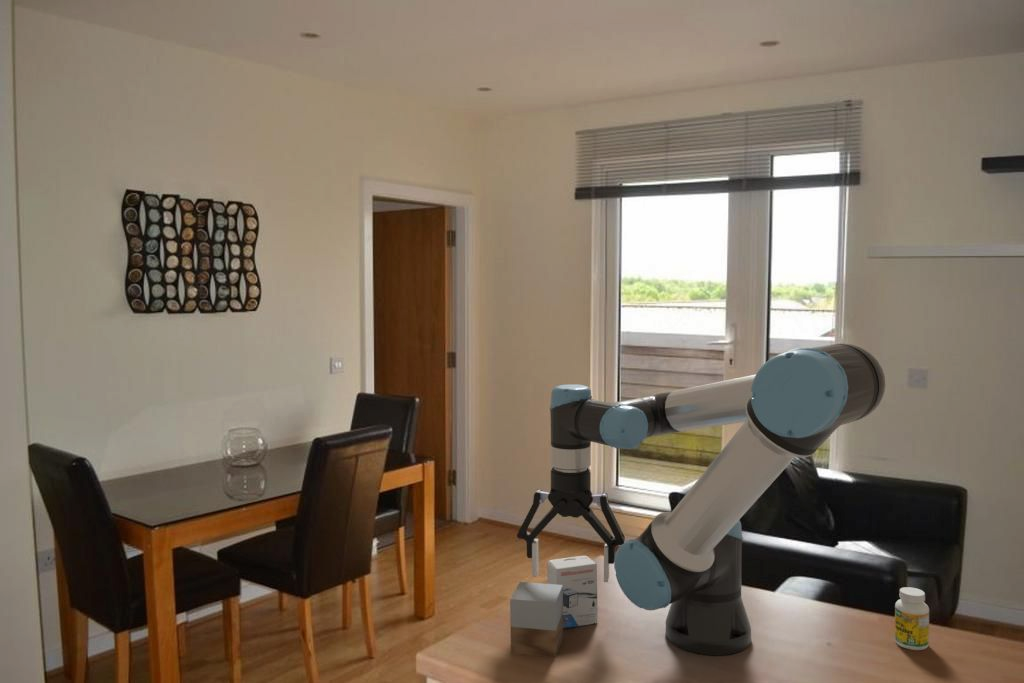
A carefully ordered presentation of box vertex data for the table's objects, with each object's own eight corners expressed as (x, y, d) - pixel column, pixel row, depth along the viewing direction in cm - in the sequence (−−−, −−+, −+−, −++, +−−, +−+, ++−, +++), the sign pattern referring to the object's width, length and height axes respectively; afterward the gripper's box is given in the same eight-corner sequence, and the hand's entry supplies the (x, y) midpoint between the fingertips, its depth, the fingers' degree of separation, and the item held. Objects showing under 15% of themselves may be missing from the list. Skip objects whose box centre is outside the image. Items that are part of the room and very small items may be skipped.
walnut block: (563, 637, 146) (562, 611, 146) (556, 658, 139) (555, 630, 138) (520, 634, 148) (519, 608, 148) (510, 654, 140) (510, 626, 140)
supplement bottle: (935, 647, 140) (936, 594, 139) (913, 653, 138) (914, 599, 137) (909, 634, 145) (910, 583, 144) (887, 640, 143) (888, 588, 142)
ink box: (556, 630, 149) (555, 569, 148) (546, 619, 154) (546, 560, 153) (598, 623, 152) (598, 563, 151) (587, 613, 156) (587, 554, 155)
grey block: (563, 611, 146) (562, 584, 146) (555, 630, 138) (555, 602, 138) (520, 608, 148) (519, 581, 147) (510, 626, 140) (510, 599, 140)
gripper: (638, 465, 151) (637, 574, 153) (509, 459, 156) (510, 564, 158) (636, 475, 144) (635, 589, 146) (501, 469, 149) (502, 579, 151)
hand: (570, 576), depth 152 cm, fingers open, 13 cm apart
